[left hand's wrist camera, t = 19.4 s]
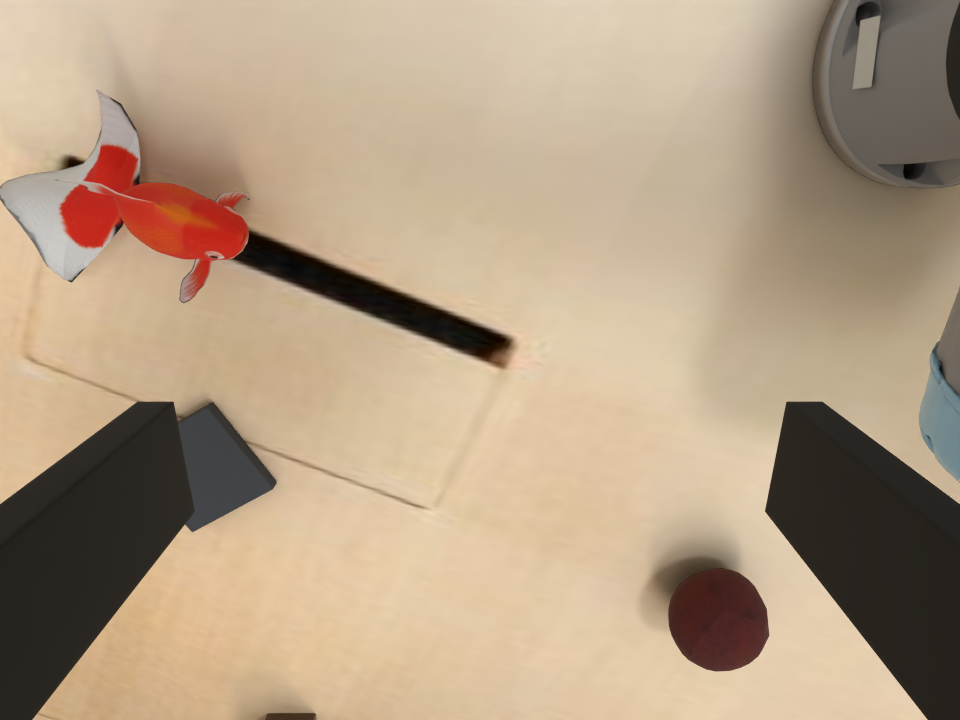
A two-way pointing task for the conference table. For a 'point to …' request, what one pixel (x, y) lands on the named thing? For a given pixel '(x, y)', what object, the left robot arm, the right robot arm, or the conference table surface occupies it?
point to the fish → (122, 209)
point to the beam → (290, 717)
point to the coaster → (219, 467)
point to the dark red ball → (718, 620)
